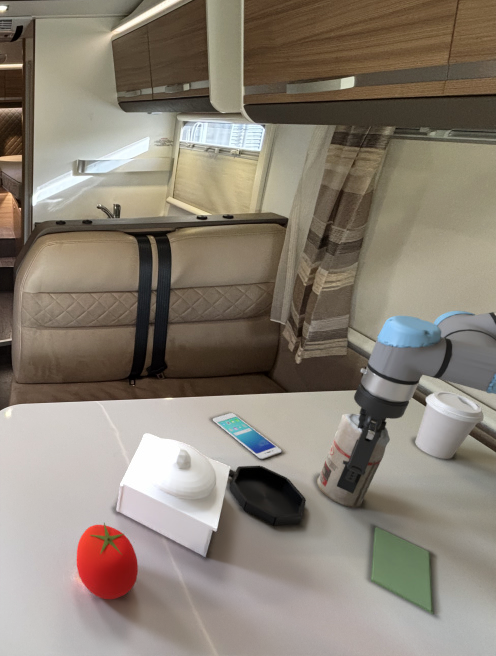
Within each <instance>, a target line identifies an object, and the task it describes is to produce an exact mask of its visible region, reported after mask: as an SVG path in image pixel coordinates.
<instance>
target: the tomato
mask: <svg viewBox="0 0 496 656" xmlns="http://www.w3.org/2000/svg"><path fill="white" fill-rule="evenodd" d="M133 546H134V545H133V544H132V543H131V541H130V539H129V538H128V537H127V536H126V534H125V533H124V532H121V531H120V530H118V529H117V528H115V527H112V526H109V525H106V524H105V522H103V524H93V525H91V526H89V527H88V528H87V529H85V530H84V532H83V533H82V535H81V536H80V537H79V539H78V544H77V546H76V547H77V548H76V568H77V573H78V576H79V578H80V580H81V582H82V583H83V585H84V586H85V589H87V590H88V591H89V592H90V593H92V595H94V596H96V597H98V598H100V599H104V600H115V599H119V598H121V597H123V596H125V595H126V594H127V593H128V592H130V591H131V590H132V588H133V587H134V585H135V584H136V582H137V579H138V572H139V565H138V558H137V554H136V551H135V549H134V547H133Z"/></svg>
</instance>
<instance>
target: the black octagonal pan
mask: <svg viewBox="0 0 496 656" xmlns="http://www.w3.org/2000/svg"><path fill="white" fill-rule="evenodd" d="M228 478H231V481H230V485H229V487H228V488H229V491H230V492H231V494H232V495H233V497H234V499H235V500H236V501H237V503H238V504H239V506H240V507H241V509H242V510H243V511H244V512H246V513H247V514H249V515H251V516H253V517H255V518H256V519H259V520H260V521H262V522H265V523H266V524H268V525H270V526H273V527H284V526H286V527H287V526H288V527H289V526H298V525H300V523H301V520H302V518H303V514H304V510H305V506H306V501H307V499H306V497H305V496H304V495H303V494H302V493H301V492H300V490H299V489H298V487H296V486H295V484H294V483H293V482H292V481H291V479H289V478H288V477H286V476H284V475H282V474H280V473H278V472H275V470H272V469H269V468H267V467H265V466H263V465H243V466H242V465H241V466H237V467H236V470H233V469H231V468H230V470H229V475H228Z"/></svg>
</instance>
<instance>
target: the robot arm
mask: <svg viewBox="0 0 496 656" xmlns="http://www.w3.org/2000/svg"><path fill="white" fill-rule="evenodd" d="M365 367H366V368H364V367H362V368H360V370H359V372H360V373H362V377H361V379H360V382H359V383H358V386H357V388H356V390H355V393H354V395H353V399H354V402H355V403H356V404H357V406H359V408H360V409H359V413H358V414H360V416H359V424H358V428H360V429H361V427H362V432H361V434H360V437H359V439H357V441H356V443H355V446H354V448H353V450H352V453H351V455H350V458H349V461H347V462H346V461H344V460H343V464H345V467H344V469H343V471H342V474H341V476H340V478H339V481H338V483H337V487H339V488H342V489H344V490H346V491H348V492H350V493H354V490H355V488H356V486H357V484H358V482H359V479H360V477H361V475H364V474H365V470H366V467H367V465H368V462H369V460H370V458H371V455H372V453H373V450H374V448H375V445H376V443H377V441H378V440H379V438H380V437H381V432H382V430H384V429H385V427H386V426H387V419H391V420H392V419H393V420H394V419H400V418H402V417H404V414H405V412H406V410H407V408H408V406H409V405H410V401H411V400H412V398H413V396H414V394H415V392H416V390H417V388H418V387H419V384H420V380H421V378H422V377H423V376H426V377H430V378H433V379H438V380H442V381H445V382H448V383H452V384H456V385H459V386H463V387H466V388H471V389H474V390H478V391H481V392H485V393H487V394H494V395H496V311H492V312H486V313H480V314H475V313H473V312H470V311H465V310H452V311H447V312H444V313H443V314H441V315H439V316H438V317H437V318H436V319H434V322H431V321H428V320H423V319H421V318H419V317H414V316H410V315H393V316H390V317H388V318H387V319H386V320H385V322H384V324H383V326H382V328H381V329H380V331H379V333H378V334H377V338H376V341H375V344H374V346H373V349H372V352H371V354H370V356H369V359H368V360H367V364H366V366H365Z"/></svg>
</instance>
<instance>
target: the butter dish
mask: <svg viewBox="0 0 496 656" xmlns="http://www.w3.org/2000/svg"><path fill="white" fill-rule="evenodd" d="M132 457H133V458H132V459H131V462H130V464H129V465H128V468H127V470H126V472H125V474H124V476H123V478H122V480H121V482H120V484H119V488H118V495H117V503H116V510H115V511H116V512H118V513H120V514H122V515H123V516H125V517H127V518H130V519H131V520H133V521H136V522H137V523H139V524H141V525H142V526H145V527H147V528H149V529H151V530H152V531H154V532H156V533H159V534H161V535H162V536H164V537H166V538H168V539H170V540H171V541H174V542H176V543H177V544H179V545H181V546H183V547H186V548H187V549H188V550H191V551H193V552H195V553H197V554H199V555H200V556H202V557H204V558H206V557H207V553H208V549H209V546H210V542H211V539H212V535H213V532H216V533H217V531H218V526H219V521H220V516H221V514H222V513H221V512H222V508H223V503H224V498H225V494H226V490H227V485H228V479H229V476H228V475H229V470H230V469H231V466H230V465H227V464H225V463H223V462H220V461H218V460H216V459H213V458H210V457H208V456H206V455H204V454H203V453H202V452H200V451H199V450H198V449H196V448H195V447H193V446H192V445H189V444H188V443H185V442H183V441H179V440H176V439H172V438H161V437H159V436H156V435H153V434H152V433H149V432H146V433H143V436H142V439H141V441H140V443H139V445H138V447H137V449H136V451H135V453H134V455H133V456H132Z"/></svg>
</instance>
